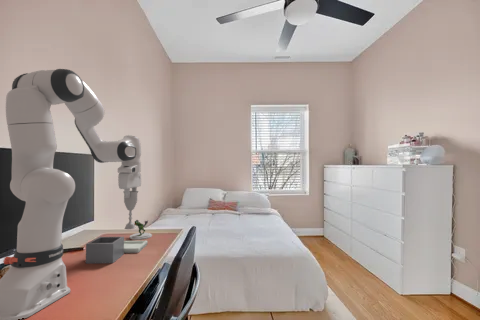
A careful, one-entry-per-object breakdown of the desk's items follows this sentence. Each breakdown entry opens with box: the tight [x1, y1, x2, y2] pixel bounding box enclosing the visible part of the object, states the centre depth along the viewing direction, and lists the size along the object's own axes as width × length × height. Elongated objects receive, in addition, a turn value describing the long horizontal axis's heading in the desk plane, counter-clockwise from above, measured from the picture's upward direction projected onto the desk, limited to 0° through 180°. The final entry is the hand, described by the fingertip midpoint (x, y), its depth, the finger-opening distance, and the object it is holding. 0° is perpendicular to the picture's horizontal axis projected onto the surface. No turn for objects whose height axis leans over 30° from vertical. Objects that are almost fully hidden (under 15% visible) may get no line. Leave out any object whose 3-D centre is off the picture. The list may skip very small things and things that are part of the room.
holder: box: [85, 236, 125, 264], centre depth 111 cm, size 11×11×8 cm
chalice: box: [123, 190, 139, 230], centre depth 126 cm, size 7×7×18 cm
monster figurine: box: [129, 219, 153, 241], centre depth 147 cm, size 12×12×10 cm
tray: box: [124, 240, 148, 254], centre depth 125 cm, size 13×13×2 cm
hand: (130, 197), depth 126 cm, fingers closed on chalice, 6 cm apart
